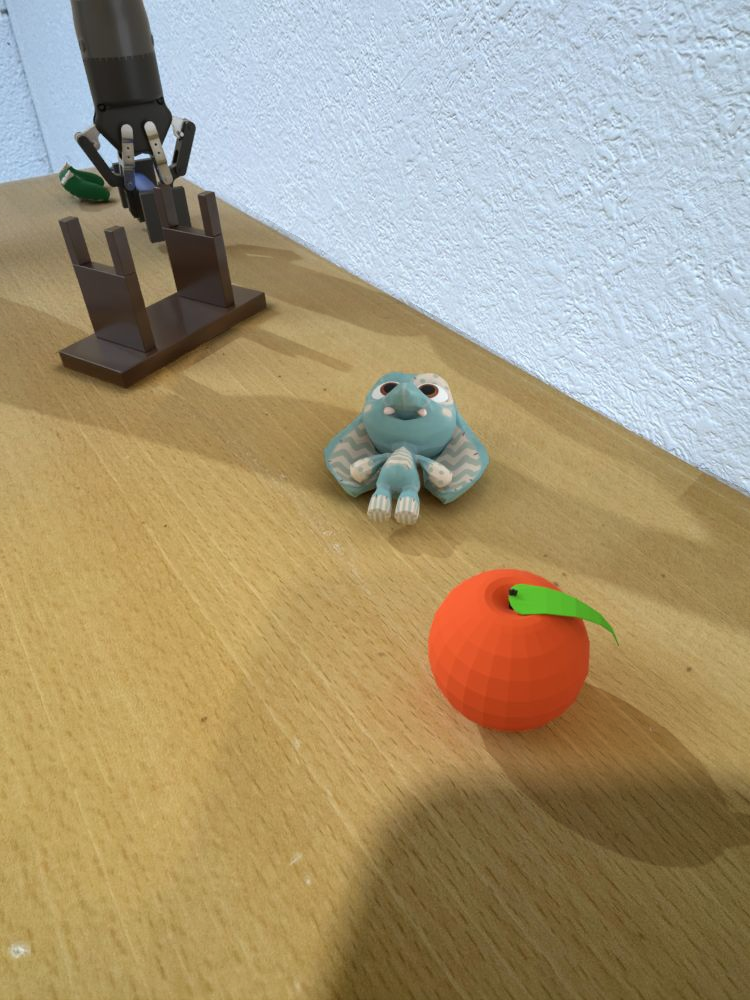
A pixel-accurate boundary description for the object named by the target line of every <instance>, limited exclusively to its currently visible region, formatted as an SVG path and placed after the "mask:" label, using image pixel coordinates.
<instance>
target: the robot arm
mask: <svg viewBox="0 0 750 1000" xmlns="http://www.w3.org/2000/svg"><path fill="white" fill-rule="evenodd" d="M69 2H70V8H71V11H72V12H71V13H72V21H73V27H74V32H75V37H76V40H77V44H78V48H79V51H80V56H81V59H82V64H83V68H84V72H85V76H86V79H87V83H88V87H89V91H90V95H91V99H92V103H93V108H94V111H93V112H94V114H93V118H92V123H93V124H91V125H90V126H89V127H87V128H86V129H84V130H83V131H82V132H81V131H77V132H76V133H75V134H74V136H73V137H74V141H75V142H76V144H77V145H78V146H79V147H80V149H81V150H82V151H83V153H84V154H85V155H86V157H87V158H88V160H89V161H90V162H91V164H92V165H93V166H94V167H95V169H96V170H97V171H98V173H99V174H100V175H101V178H102V179H103V180H104V182H106V183H107V185H108V186H110V187H111V188H116V187H117V188H118V187H120V188H123V189H124V192H125V196H126V200H127V204H128V208H127V209H128V212H129V213H130V215H131V216H132V217H133V218H134V219H136V220H137V221H138V222H139V224H141V223H146V222H145V218H144V214H143V209H142V205H141V201H140V197H139V190H138V189H137V187H136V184H135V171H134V169H135V160H136V159H135V157H138V156H141V155H142V154H144V155H148V156H149V158H151V160H152V162H153V166H154V170H155V174H156V175H157V178H158V180H159V181H157V184H158V185H160V184H168V185H170V188H171V187H174V183H175V181H176V180H177V179H179V178H180V177H185V176H186V174H187V171H188V167H189V163H190V159H191V158H190V157H191V153H192V149H193V145H194V140H195V135H196V130H197V126H196V124H195V123H194V122H193V121H191V120H190V119H189V118H180V117H178V116H176V115H173V114H172V111H171V110H170V108H169V106H167V103H166V101H165V96H164V91H163V86H162V81H161V76H160V70H159V65H158V60H157V56H156V49H155V39H154V35H153V33H152V29H151V25H150V21H149V17H148V13H147V9H146V7H145V4H144V0H69ZM170 127H172V134H173V136H174V137H175V138H176V140H175V145H174V148H173V149H174V150H173V154H172V159H171V164H170V165H169V164H168V159H167V156H166V153H165V150H164V148H163V145H164V142H165V140H166V137H167V135H168V132H169V130H170ZM100 135H101V136H102V137H103V138H104V139H105V140H106V141H107V142H108V143H109V144H110V145H111V146H112V147H113V148H114V149H115V150H116V154H117V162H119V168H120V174H118V173H114V171H113V169H111V168H110V166H109V165H108V163H107V162H106V161H105V159H104V158H103V156H102V155H101V154H100V152H99V150H100V148H101V142H100V140H99V136H100Z"/></svg>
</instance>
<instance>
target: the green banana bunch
mask: <svg viewBox="0 0 750 1000" xmlns="http://www.w3.org/2000/svg"><path fill="white" fill-rule="evenodd" d="M58 177H59V181H60V185H61V186H62V188H64V190H65V191H66V192H68V193H69V194H70V195H72V196H74V198H75V199H76V200H78V201H79V202H81V201H83V200H89V201H94V202H109V200H110V197H111V193H110V191H109V189H107V188H106V187H104V186H105V179H104V178H103V177H102V176H100V175H99V174H97V173H95V172H90V171H84V170H78V169H76V168H74V167H73V166H72V165H70V163H68V161H65V163H64V164H63V165H62V166H61V167H60V169H59V171H58Z"/></svg>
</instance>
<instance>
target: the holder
mask: <svg viewBox="0 0 750 1000" xmlns="http://www.w3.org/2000/svg"><path fill="white" fill-rule="evenodd" d="M153 191H154V195H155V199H156V203H157V208H158V212H159V216H160V221H161V225H162V229H163V233H164V238H165V241H164V242H165V245H166V246H165V247H166V250H167V254H168V259H169V263H170V268H171V271H172V277H173V280H174V285H175V288H176V292H174V293H172V294H170V295H168V296H166V297H164V298H162V299H160V300H158V301H156V302H154V303H152V304H149V305H148V306H146V303H145V300H144V296H143V292H142V289H141V286H140V285H141V284H140V281H139V277H138V273H137V270H136V265H135V263H134V262H135V261H134V259H133V258H134V257H133V255H132V251H131V247H130V243H129V241H128V239H129V238H128V236H127V232H126V229H125V226H121V225H116V224H115V225H112V226H110V227H107V228H105V229H103V232H104V237H105V238H106V243H107V246H108V250H109V253H110V257H111V260H112V265H113V266H112V265H108V264H104V263H100V262H96V261H92V258H91V255H90V252H89V248H88V245H87V242H86V239H85V235H84V232H83V229H82V226H81V222H80V219H79V217H77V216H73V215H69V216H65V217H63V218H60V219H58V224H59V225H58V226H59V228H60V230H61V231H60V232H61V233H62V237H63V240H64V243H65V246H66V250H67V253H68V255H69V258H70V262H71V264H72V267H73V270H74V273H75V276H76V277H75V278H76V280H77V283H78V286H79V289H80V292H81V295H82V298H83V301H84V304H85V307H86V310H87V313H88V317H89V319H90V323H91V325H92V329H93V333H92V334H89V335H88V336H86V337H83V338H81V339H79V340H78V341H76V342H74V343H72V344H70V345H68V346H66V347H63V348H61V349H60V350H58V354H59V357H60V359H61V363H62V366H63V367H64V368H67V369H70V370H73V371H76V372H79V373H81V374H84V375H87V376H90V377H93V378H96V379H98V380H101V381H103V382H107V383H110V384H113V385H115V386H118V387H120V388H124V389H128V388H130V387H131V386H133V385H134V384H136V383H138V382H140V381H141V380H143V379H145V378H147V377H148V376H151V375H152V374H154V373H156V372H157V371H159V370H160V369H162V368H164V367H166V366H167V365H169V364H171V363H172V362H174V361H176V360H177V359H180V358H181V357H183V356H184V355H186V354H188V353H190V352H191V351H193V350H195V349H196V348H199V347H200V346H202V345H204V344H205V343H207V342H208V341H209V342H210V340H212V339H214V338H216V337H217V336H219V335H221V334H222V333H224V332H226V331H228V330H229V329H231V328H233V327H234V326H236V325H238V324H240V323H241V322H242V321H243V322H244V321H245V320H246V319H249V318H250V317H251V316H253V315H255V314H257V313H258V312H260V311H262V310H264V309H265V308H267V306H268V305H267V297H266V294H265V293H266V292H264V291H260V290H257V289H252V288H248V287H244V286H239V285H235V284H232V279H231V275H230V269H229V263H228V257H227V252H226V247H225V241H224V236H223V235H224V234H223V230H222V225H221V220H220V212H219V209H218V203H217V197H216V192H215V191H212V190H204V191H201V192H200V193H197V201H198V206H199V211H200V216H201V221H202V226H203V229H200V228H196V227H192V228H190V227H185V226H180V225H178V220H177V215H176V211H175V206H174V202H173V197H172V193H171V188H170V185H168V184H160V185H157V186H154V187H153Z"/></svg>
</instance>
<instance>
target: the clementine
mask: <svg viewBox="0 0 750 1000" xmlns="http://www.w3.org/2000/svg"><path fill="white" fill-rule="evenodd" d="M584 621H588V622H590V623H593V624H595V625H599V626H601V627H602V628H604V629H605V630H607V632H609V633H611V634H612V637H613V639H614V640H615V643H616V645H617V646H618V647H620V644H619V641H618V639H617V636H616V633H615V631H614V628H613V626H612V625H611V624H610V623H609V622H608V621H607V619H606V618H605V617H604V616H603V615H602V614H601V613H600V612H599V611H597V610H596V609H594V608H593V607H591V606H590V605H588V604H586V603H585V602H583V601H581V600H580V599H579V598H577V597H574V596H572V595H570V594H567V593H564V592H563V591H562V590H561V589H560V588H559V587H558V586H557V585H556V584H554V583H553V582H551V581H550V580H548V579H546V578H544V577H543V576H541V575H539V574H535V573H533V572H530V571H528V570H521V569H516V568H496V569H491V570H486V571H483V572H480V573H477V574H476V575H474V576H471V577H468V578H467V579H464V580H463V581H461V582H460V583H459V584H458V585H456V586H455V587H454V588H452V589H451V590H450V591H449V593H448V595H447V596H446V597H445V599H444V600H443V601H442V603H441V604H440V606H439V607H438V608H437V610H436V611H435V612H434V616H433V619H432V622H431V626H430V629H429V635H428V639H427V650H428V661H429V666H430V671H431V673H432V676H433V678H434V679H433V680H434V681H435V683H436V686H437V688H438V689H439V690H440V692H441V694H442V695H443V696H444V697H445V699H446V700H447V702H448V703H449V704H450V705H451V707H452V708H453V709H454V710H456V711H457V712H458V713H459V714H461V715H462V716H463V717H464V718H465V719H466V720H469V721H471V722H473V723H474V724H476V725H478V726H481V727H483V728H486V729H489V730H495V731H499V732H506V733H507V732H509V733H510V732H511V733H514V732H515V733H516V732H518V733H519V732H521V733H522V732H526V731H531V730H534V729H535V730H536V729H538V728H541V727H543V726H545V725H547V724H548V723H550V722H552V721H554V720H556V719H557V718H559V717H561V715H563V714H564V713H565V712H566V711H567V710H568V709H569V708H570V707H571V706H572V705H573V703H575V702H576V700H577V698H578V696H579V694H580V692H581V690H582V688H583V686H584V683H585V681H586V679H587V677H588V675H589V669H590V668H589V667H590V655H591V654H590V653H591V652H590V649H591V642H590V638H589V635H588V634H589V633H588V630H587V627H586V624H585V622H584Z"/></svg>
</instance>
